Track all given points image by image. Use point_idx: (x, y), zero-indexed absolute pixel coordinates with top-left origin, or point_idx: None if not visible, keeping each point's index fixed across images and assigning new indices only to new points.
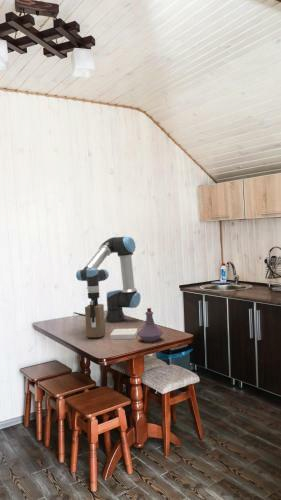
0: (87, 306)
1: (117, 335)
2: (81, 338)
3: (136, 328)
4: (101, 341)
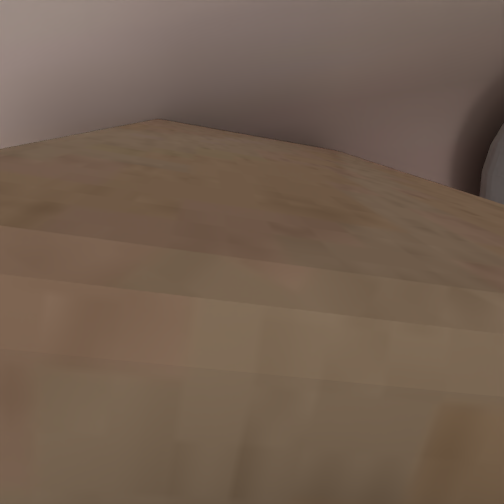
0: (68, 463)
1: None
2: (179, 37)
3: None
4: None
